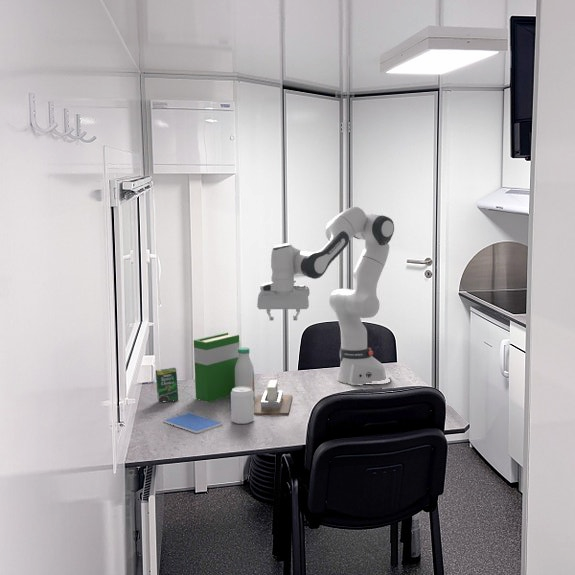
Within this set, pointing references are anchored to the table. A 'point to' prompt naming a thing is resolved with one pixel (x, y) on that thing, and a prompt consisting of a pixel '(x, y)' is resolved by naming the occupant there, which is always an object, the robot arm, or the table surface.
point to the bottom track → (271, 402)
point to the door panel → (272, 390)
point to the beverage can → (242, 405)
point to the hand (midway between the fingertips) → (283, 320)
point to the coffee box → (167, 384)
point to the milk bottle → (244, 369)
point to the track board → (283, 410)
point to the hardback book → (215, 366)
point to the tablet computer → (193, 423)
